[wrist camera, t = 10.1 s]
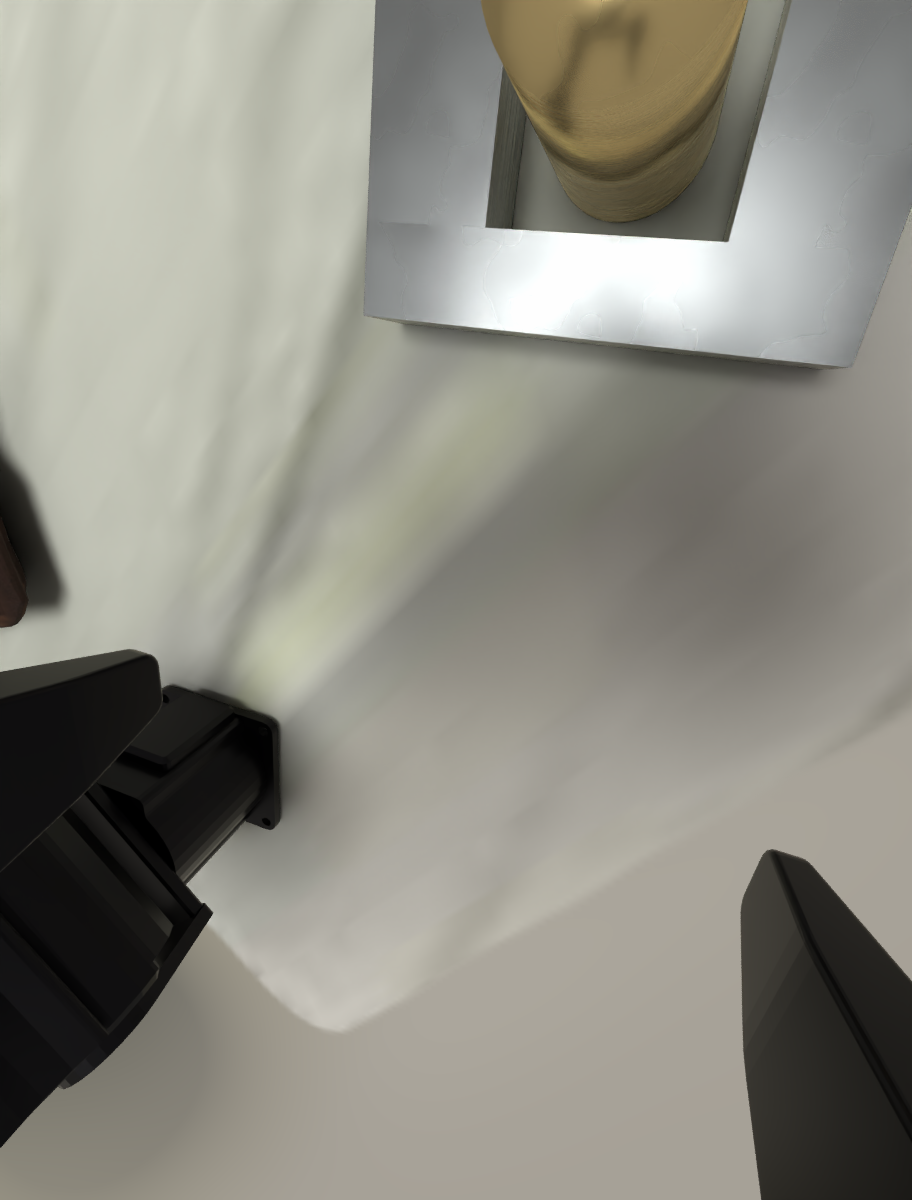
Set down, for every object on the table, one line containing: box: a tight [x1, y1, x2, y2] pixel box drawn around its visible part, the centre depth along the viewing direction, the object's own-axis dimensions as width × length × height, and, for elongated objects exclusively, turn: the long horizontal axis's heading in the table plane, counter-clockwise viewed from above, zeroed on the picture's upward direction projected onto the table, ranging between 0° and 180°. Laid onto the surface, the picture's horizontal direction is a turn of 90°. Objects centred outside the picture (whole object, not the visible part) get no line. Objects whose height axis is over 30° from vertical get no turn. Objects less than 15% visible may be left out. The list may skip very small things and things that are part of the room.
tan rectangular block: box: [481, 0, 748, 222], centre depth 11 cm, size 4×4×7 cm
